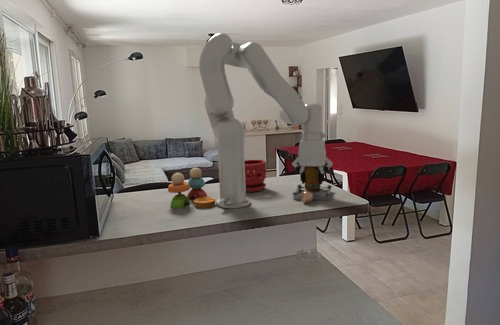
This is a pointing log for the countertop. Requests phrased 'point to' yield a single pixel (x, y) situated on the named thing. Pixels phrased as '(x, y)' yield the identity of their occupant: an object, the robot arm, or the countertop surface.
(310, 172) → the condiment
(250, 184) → the plant pot
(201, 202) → the wooden stacking toy
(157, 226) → the countertop surface
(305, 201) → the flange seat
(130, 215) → the countertop surface
